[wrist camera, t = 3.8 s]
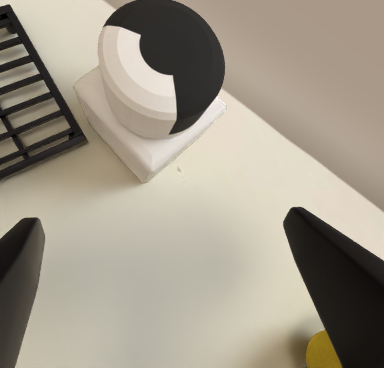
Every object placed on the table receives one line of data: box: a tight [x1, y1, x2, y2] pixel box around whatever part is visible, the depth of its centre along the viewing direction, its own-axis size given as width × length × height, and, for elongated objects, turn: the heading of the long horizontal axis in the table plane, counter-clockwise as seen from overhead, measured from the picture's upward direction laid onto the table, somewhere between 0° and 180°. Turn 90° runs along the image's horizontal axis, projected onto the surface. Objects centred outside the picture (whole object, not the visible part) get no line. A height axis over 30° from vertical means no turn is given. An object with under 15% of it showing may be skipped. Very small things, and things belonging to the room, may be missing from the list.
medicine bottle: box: [73, 0, 226, 183], centre depth 17 cm, size 7×7×12 cm
